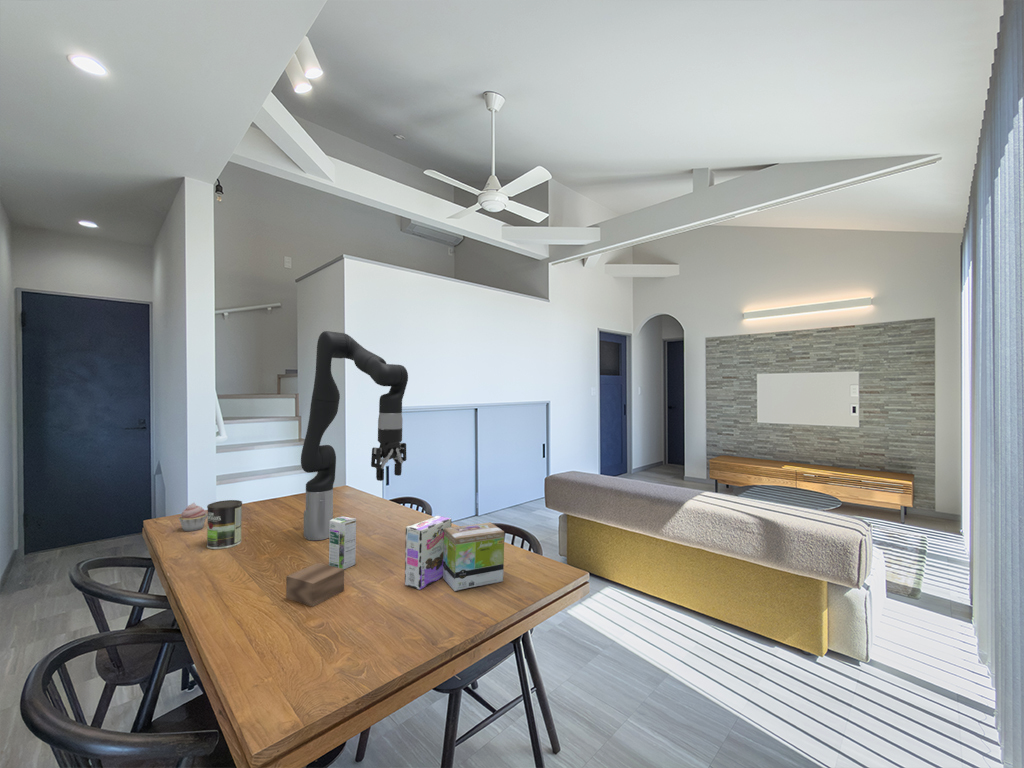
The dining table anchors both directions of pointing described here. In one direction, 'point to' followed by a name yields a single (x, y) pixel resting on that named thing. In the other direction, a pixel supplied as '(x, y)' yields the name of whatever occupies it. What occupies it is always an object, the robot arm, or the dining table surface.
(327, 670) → the dining table surface
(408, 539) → the candy box
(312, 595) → the walnut block
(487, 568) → the tea box
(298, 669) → the dining table surface
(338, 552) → the syrup box
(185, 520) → the cupcake
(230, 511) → the coffee can
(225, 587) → the dining table surface
